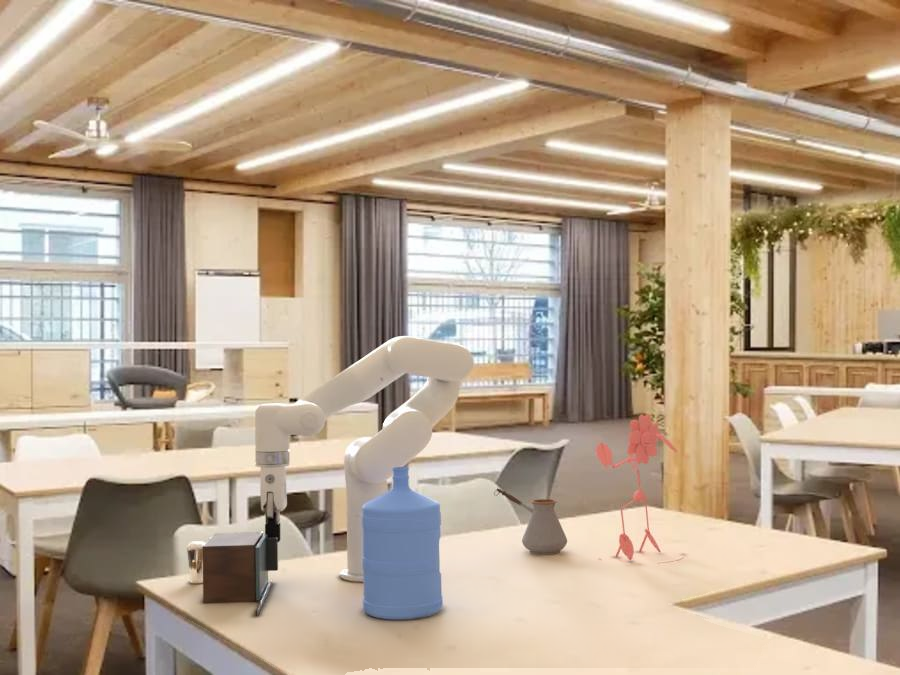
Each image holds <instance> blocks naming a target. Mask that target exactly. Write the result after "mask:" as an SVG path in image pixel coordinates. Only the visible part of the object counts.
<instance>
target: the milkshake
mask: <svg viewBox="0 0 900 675" xmlns="http://www.w3.org/2000/svg"><path fill="white" fill-rule="evenodd" d="M210 538H211V537H209V538H208V540H209V539H210ZM205 543H206V542H204V541H202V540H200V541H191V542H189V543H188V544H187V546H186V551H187V560H188V570H189V583H190V584H194V585H195V584H196V585H197V584H203V546H204V545H205Z"/></svg>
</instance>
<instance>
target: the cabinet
mask: <svg viewBox="0 0 900 675" xmlns="http://www.w3.org/2000/svg"><path fill="white" fill-rule="evenodd" d="M263 535H264V532H263V531H250V532H249V531H248V532H247V531H246V532H245V531H244V532H216V533H215V532H214V534H213V535H212V536H211V537H209V538H210V539H209V538H208V540H207V541H206V542H205V545H204V546H203V583H202V602H203V604H210V603H212V604H213V603H238V602H239V603H240V602H241V603H242V602H256V601H257V600H256V556H255V548H256V546H257V544H258V543H259V541H260V540H261V538H262V537H263ZM272 586H273V578H271V579H269V581H268V584H267V586H266V589H265V591H264V593H263V595H262V597H261V599H260V600H259V603H258V604H257V608H256V609H255V612H254V613H255V614H254V615H255V617H258V616H259V613H260V611H261V609H262V607H263V605H264V603H265V600H266V598H267V596H268V594H269V592H270V590H271V588H272Z"/></svg>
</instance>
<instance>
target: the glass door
mask: <svg viewBox="0 0 900 675" xmlns="http://www.w3.org/2000/svg"><path fill="white" fill-rule="evenodd" d="M255 556H256V600H255V601H260V600H261V598H262V596H263V594H264V592H265V590H266V588H267V586H268V584H269V572H272V571H275V572H276V571H278V570H279V542H278V538H277V537H273V538H268V534H265V533H263V537H262V538H261V540H260V541H259V543H258V544H257V546H256V548H255Z"/></svg>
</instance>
